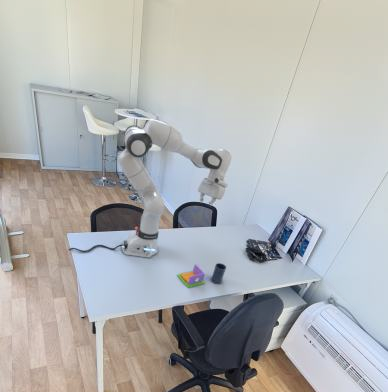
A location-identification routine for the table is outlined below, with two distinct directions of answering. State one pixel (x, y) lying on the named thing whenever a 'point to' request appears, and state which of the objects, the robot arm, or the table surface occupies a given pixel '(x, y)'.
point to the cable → (254, 255)
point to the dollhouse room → (193, 277)
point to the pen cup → (218, 273)
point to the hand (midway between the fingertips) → (205, 203)
